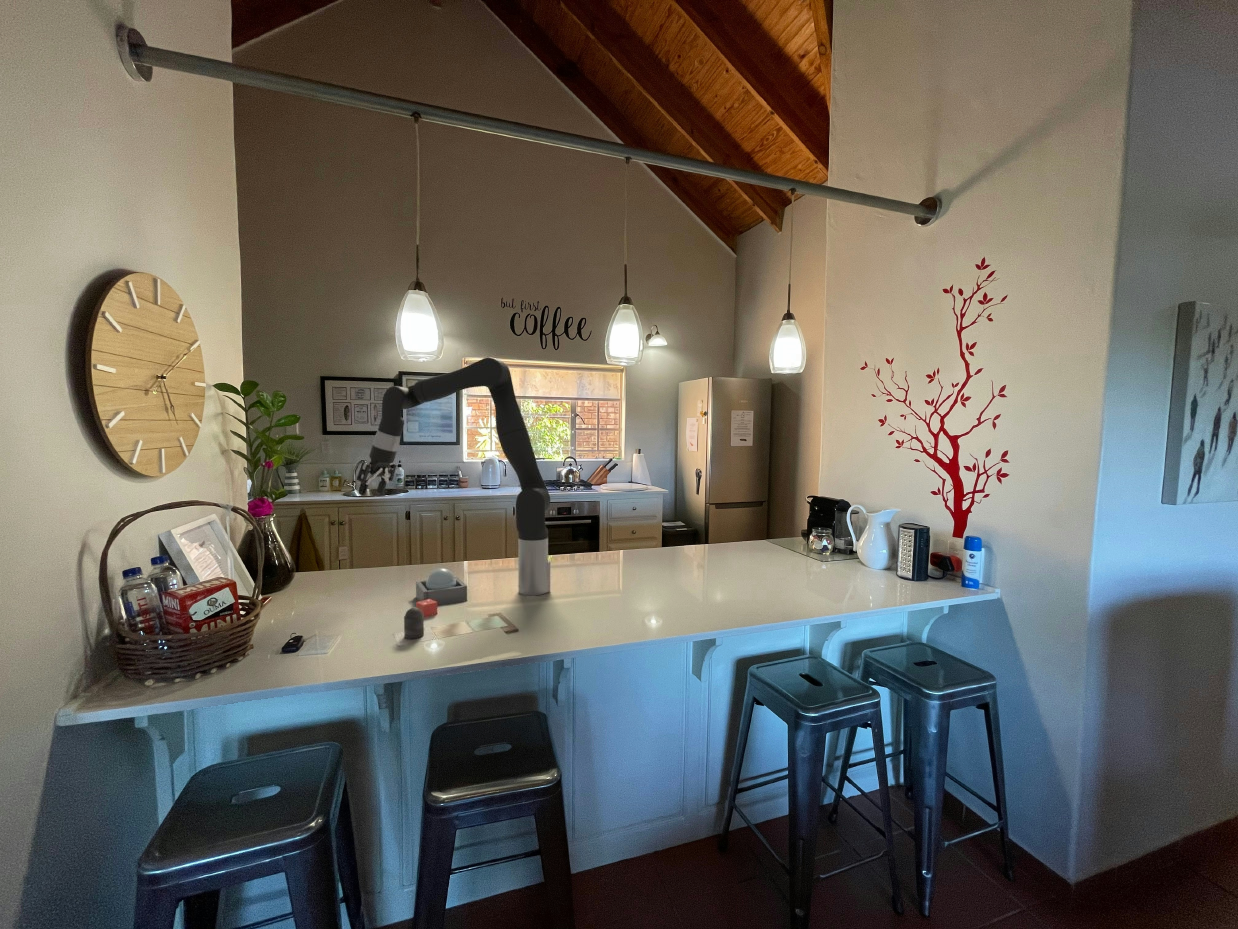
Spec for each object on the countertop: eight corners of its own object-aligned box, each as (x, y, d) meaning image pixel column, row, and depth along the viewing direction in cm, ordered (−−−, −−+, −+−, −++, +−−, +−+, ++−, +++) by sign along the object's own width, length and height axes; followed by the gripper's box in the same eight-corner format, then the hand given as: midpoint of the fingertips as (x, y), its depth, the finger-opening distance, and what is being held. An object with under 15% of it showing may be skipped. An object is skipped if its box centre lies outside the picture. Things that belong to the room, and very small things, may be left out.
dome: (452, 587, 170) (452, 563, 169) (459, 595, 162) (459, 570, 162) (423, 591, 165) (423, 567, 165) (429, 599, 158) (429, 573, 158)
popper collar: (456, 590, 173) (456, 576, 172) (467, 601, 162) (467, 586, 162) (415, 596, 166) (415, 581, 166) (424, 607, 156) (423, 592, 155)
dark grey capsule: (421, 631, 136) (421, 604, 135) (425, 637, 132) (425, 609, 131) (402, 634, 133) (402, 606, 133) (406, 641, 130) (405, 612, 129)
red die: (430, 613, 151) (430, 598, 151) (437, 616, 149) (437, 601, 148) (416, 616, 148) (416, 601, 148) (423, 620, 146) (423, 605, 145)
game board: (500, 614, 151) (500, 611, 151) (518, 631, 139) (518, 627, 139) (383, 634, 136) (383, 631, 135) (392, 655, 124) (392, 651, 123)
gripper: (379, 450, 168) (364, 499, 169) (408, 450, 182) (394, 496, 183) (360, 442, 170) (345, 490, 171) (390, 443, 183) (376, 488, 185)
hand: (371, 493), depth 177 cm, fingers open, 8 cm apart
